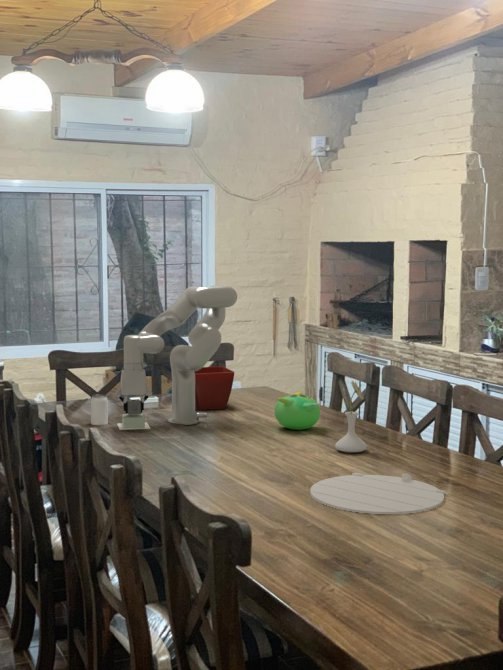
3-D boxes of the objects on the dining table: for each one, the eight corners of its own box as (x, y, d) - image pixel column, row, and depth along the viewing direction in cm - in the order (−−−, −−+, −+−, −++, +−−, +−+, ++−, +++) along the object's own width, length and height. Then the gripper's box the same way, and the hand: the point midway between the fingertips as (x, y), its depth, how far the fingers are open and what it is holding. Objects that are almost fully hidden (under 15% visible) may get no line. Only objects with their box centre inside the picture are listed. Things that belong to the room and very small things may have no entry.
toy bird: (320, 425, 365) (321, 389, 364) (319, 434, 348) (320, 397, 347) (275, 424, 367) (276, 388, 365) (272, 433, 350) (273, 395, 349)
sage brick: (142, 423, 361) (142, 413, 361) (144, 427, 354) (144, 417, 353) (122, 424, 360) (122, 414, 359) (124, 428, 352) (124, 418, 351)
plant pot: (182, 404, 408) (182, 367, 406) (223, 402, 414) (223, 366, 412) (192, 412, 390) (192, 373, 388) (234, 410, 396) (235, 372, 394)
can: (106, 427, 357) (105, 397, 356) (89, 427, 357) (89, 397, 356) (109, 424, 364) (108, 394, 362) (92, 423, 364) (92, 394, 363)
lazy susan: (358, 471, 296) (358, 461, 296) (468, 493, 271) (469, 482, 271) (283, 497, 265) (283, 485, 265) (400, 525, 241) (401, 512, 240)
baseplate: (146, 424, 364) (146, 422, 364) (150, 430, 352) (150, 428, 352) (116, 425, 361) (116, 423, 361) (119, 431, 350) (119, 429, 349)
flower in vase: (365, 455, 316) (367, 384, 313) (333, 453, 318) (334, 383, 315) (368, 447, 328) (370, 379, 326) (337, 445, 330) (338, 377, 328)
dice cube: (128, 414, 354) (127, 402, 353) (126, 412, 358) (126, 399, 358) (140, 414, 355) (140, 401, 354) (139, 411, 360) (139, 399, 359)
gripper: (154, 364, 360) (154, 410, 362) (110, 365, 356) (111, 411, 358) (156, 367, 353) (156, 413, 354) (112, 368, 349) (112, 415, 351)
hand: (133, 412), depth 356 cm, fingers closed on dice cube, 5 cm apart
